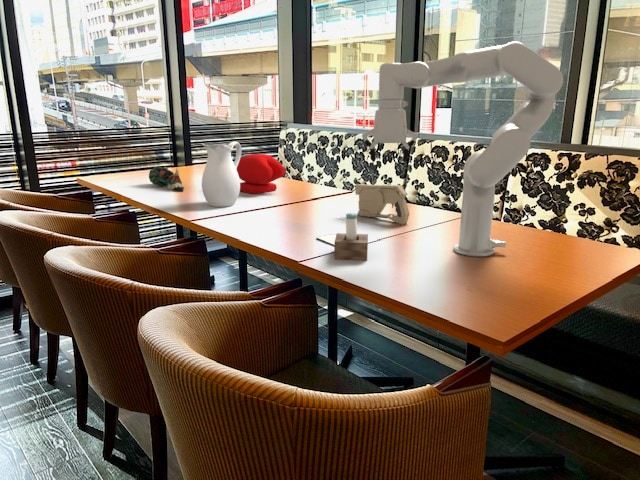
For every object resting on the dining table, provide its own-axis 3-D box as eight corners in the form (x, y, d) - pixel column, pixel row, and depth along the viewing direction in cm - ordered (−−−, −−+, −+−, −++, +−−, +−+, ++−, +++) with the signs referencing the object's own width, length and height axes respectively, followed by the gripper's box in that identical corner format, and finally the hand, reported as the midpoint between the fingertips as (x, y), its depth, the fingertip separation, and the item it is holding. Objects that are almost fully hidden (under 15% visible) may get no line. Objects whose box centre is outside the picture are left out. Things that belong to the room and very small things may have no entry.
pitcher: (224, 210, 223) (221, 145, 216) (195, 205, 232) (190, 143, 224) (257, 200, 243) (255, 140, 236) (229, 197, 252) (226, 139, 244)
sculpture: (168, 160, 287) (195, 171, 266) (166, 183, 290) (192, 196, 270) (145, 158, 278) (171, 170, 257) (143, 182, 281) (168, 196, 260)
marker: (356, 250, 163) (357, 213, 160) (356, 253, 160) (356, 215, 157) (346, 250, 163) (346, 213, 160) (345, 253, 160) (345, 215, 157)
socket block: (367, 250, 166) (367, 234, 165) (367, 260, 157) (367, 242, 155) (336, 249, 167) (336, 233, 166) (334, 259, 158) (334, 241, 156)
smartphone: (362, 247, 172) (333, 236, 184) (362, 244, 172) (333, 233, 184) (343, 251, 167) (315, 239, 180) (343, 248, 167) (315, 237, 180)
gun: (410, 223, 201) (409, 185, 197) (405, 225, 198) (404, 186, 195) (361, 219, 217) (359, 183, 214) (356, 220, 215) (354, 184, 212)
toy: (263, 158, 246) (228, 151, 267) (263, 198, 252) (229, 188, 273) (288, 156, 256) (253, 149, 277) (288, 194, 262) (253, 185, 283)
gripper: (418, 105, 161) (415, 160, 166) (362, 105, 163) (361, 159, 167) (420, 105, 154) (417, 163, 158) (362, 105, 155) (361, 162, 160)
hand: (388, 161), depth 163 cm, fingers open, 9 cm apart
